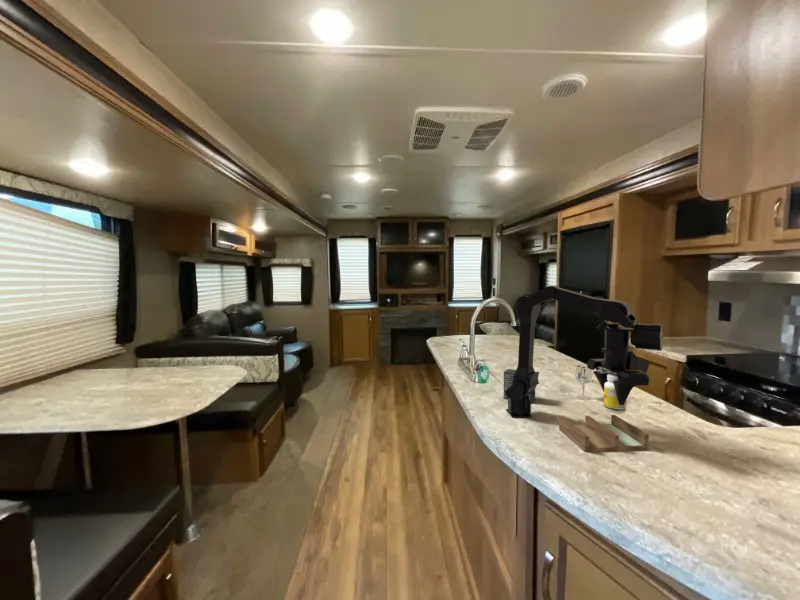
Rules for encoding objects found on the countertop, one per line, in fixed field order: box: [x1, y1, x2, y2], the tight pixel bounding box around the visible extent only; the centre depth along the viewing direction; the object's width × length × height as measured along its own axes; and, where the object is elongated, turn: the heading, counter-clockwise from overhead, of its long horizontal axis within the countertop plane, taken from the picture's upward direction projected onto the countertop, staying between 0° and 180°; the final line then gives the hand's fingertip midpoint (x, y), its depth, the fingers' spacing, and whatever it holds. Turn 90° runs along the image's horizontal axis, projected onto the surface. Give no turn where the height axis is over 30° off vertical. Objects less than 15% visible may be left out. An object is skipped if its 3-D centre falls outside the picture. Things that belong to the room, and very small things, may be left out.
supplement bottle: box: [603, 374, 627, 414], centre depth 100 cm, size 5×5×10 cm
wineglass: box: [574, 364, 593, 401], centre depth 135 cm, size 6×6×12 cm
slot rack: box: [558, 414, 650, 453], centre depth 101 cm, size 17×14×4 cm
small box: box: [502, 368, 536, 404], centre depth 135 cm, size 11×6×10 cm, turn 57°
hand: (614, 401), depth 101 cm, fingers closed on supplement bottle, 5 cm apart
